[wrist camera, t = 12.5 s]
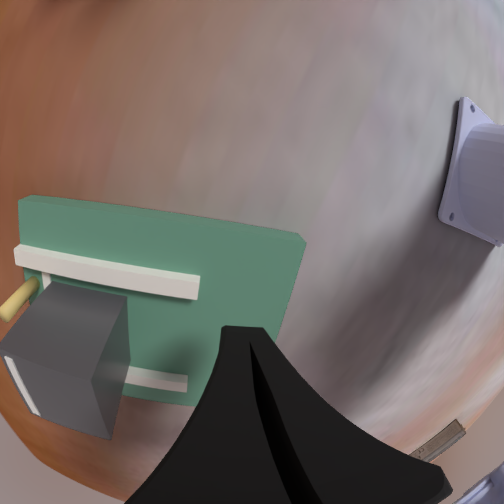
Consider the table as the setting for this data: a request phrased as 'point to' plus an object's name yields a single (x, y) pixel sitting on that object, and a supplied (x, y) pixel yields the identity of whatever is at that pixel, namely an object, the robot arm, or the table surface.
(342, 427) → the robot arm
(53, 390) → the plug
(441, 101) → the table surface
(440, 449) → the box
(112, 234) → the header board
